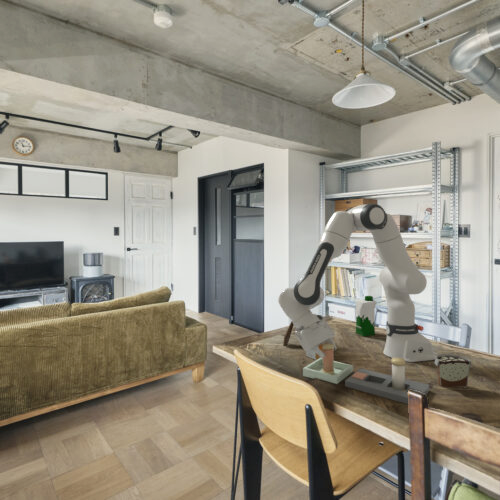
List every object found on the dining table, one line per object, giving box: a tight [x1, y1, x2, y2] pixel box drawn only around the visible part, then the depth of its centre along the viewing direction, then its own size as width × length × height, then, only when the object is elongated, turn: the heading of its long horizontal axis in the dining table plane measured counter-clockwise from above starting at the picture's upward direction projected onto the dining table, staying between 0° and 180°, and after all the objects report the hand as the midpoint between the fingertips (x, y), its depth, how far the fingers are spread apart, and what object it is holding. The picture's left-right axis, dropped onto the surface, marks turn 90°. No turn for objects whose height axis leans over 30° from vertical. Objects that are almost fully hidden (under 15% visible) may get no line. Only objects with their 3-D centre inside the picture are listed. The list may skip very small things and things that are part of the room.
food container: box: [434, 353, 472, 388], centre depth 126 cm, size 12×6×10 cm, turn 92°
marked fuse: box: [322, 343, 335, 375], centre depth 136 cm, size 4×4×11 cm
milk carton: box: [354, 295, 377, 337], centre depth 187 cm, size 9×9×20 cm
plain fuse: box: [390, 357, 406, 391], centre depth 120 cm, size 4×4×11 cm
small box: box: [305, 342, 327, 361], centre depth 156 cm, size 8×6×13 cm
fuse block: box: [344, 368, 430, 405], centre depth 122 cm, size 24×14×3 cm, turn 51°
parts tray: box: [302, 358, 354, 385], centre depth 136 cm, size 14×14×3 cm
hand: (329, 353), depth 135 cm, fingers open, 8 cm apart
